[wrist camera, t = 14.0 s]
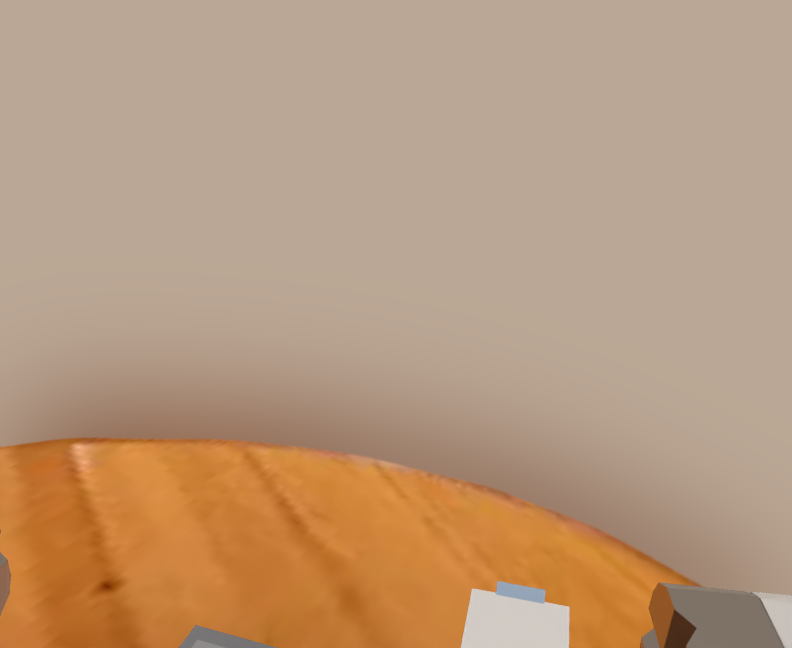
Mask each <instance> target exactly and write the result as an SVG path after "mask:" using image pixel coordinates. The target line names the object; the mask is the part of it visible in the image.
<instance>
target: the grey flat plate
mask: <svg viewBox="0 0 792 648" xmlns="http://www.w3.org/2000/svg"><path fill="white" fill-rule="evenodd" d="M179 648H276V647H272V646H269V645H265V644H261V643H258V642H254V641H251V640H247V639H244V638H240V637H236V636H233V635H229V634H226V633H222V632H218V631H215V630H211V629H208V628H204V627H200V626H197V625H195V627H194V628H193V629H192V631H191V632H190V633H189V635H188V636H187V638H186V639H185V640H184V642H183V643H182V644H181V646H180V647H179Z"/></svg>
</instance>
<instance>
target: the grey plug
mask: <svg viewBox="0 0 792 648" xmlns="http://www.w3.org/2000/svg"><path fill="white" fill-rule="evenodd" d="M461 648H569V607H567V606H562V605H557V604H552V603H546V602H545V590H542V589H537V588H532V587H526V586H521V585H515V584H510V583H505V582H499V581H498V583H497V590H496V593H494V592H489V591H483V590H478V589H473V588H472V593H471V598H470V603H469V608H468V613H467V619H466V624H465V629H464V634H463V639H462V644H461Z"/></svg>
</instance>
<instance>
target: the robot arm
mask: <svg viewBox="0 0 792 648" xmlns="http://www.w3.org/2000/svg"><path fill="white" fill-rule="evenodd" d="M0 533H1V531H0ZM10 581H11V574H10V569H9V565H8V560H7V559H6V558H5V557H4V556H3V555H2V554H1V553H0V615H1V613H2V610H3V608H4V606H5V603H6V601H7V599H8V596H9V593H10ZM649 611H650V615H651V618H652V622H653V625H654V629H652V630H651V631H650V632H648V633H647V634H646V635H644V636H643V637H642V638H641V643H640V648H792V596H791V595H780V594H771V593H770V594H769V593H760V592H750V593H747V592H743V591H734V590H723V589H715V588H706V587H696V586H687V585H677V584H668V583H658V584H657V586H656V588H655V589H654V591H653V594H652V598H651V601H650V605H649Z"/></svg>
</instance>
